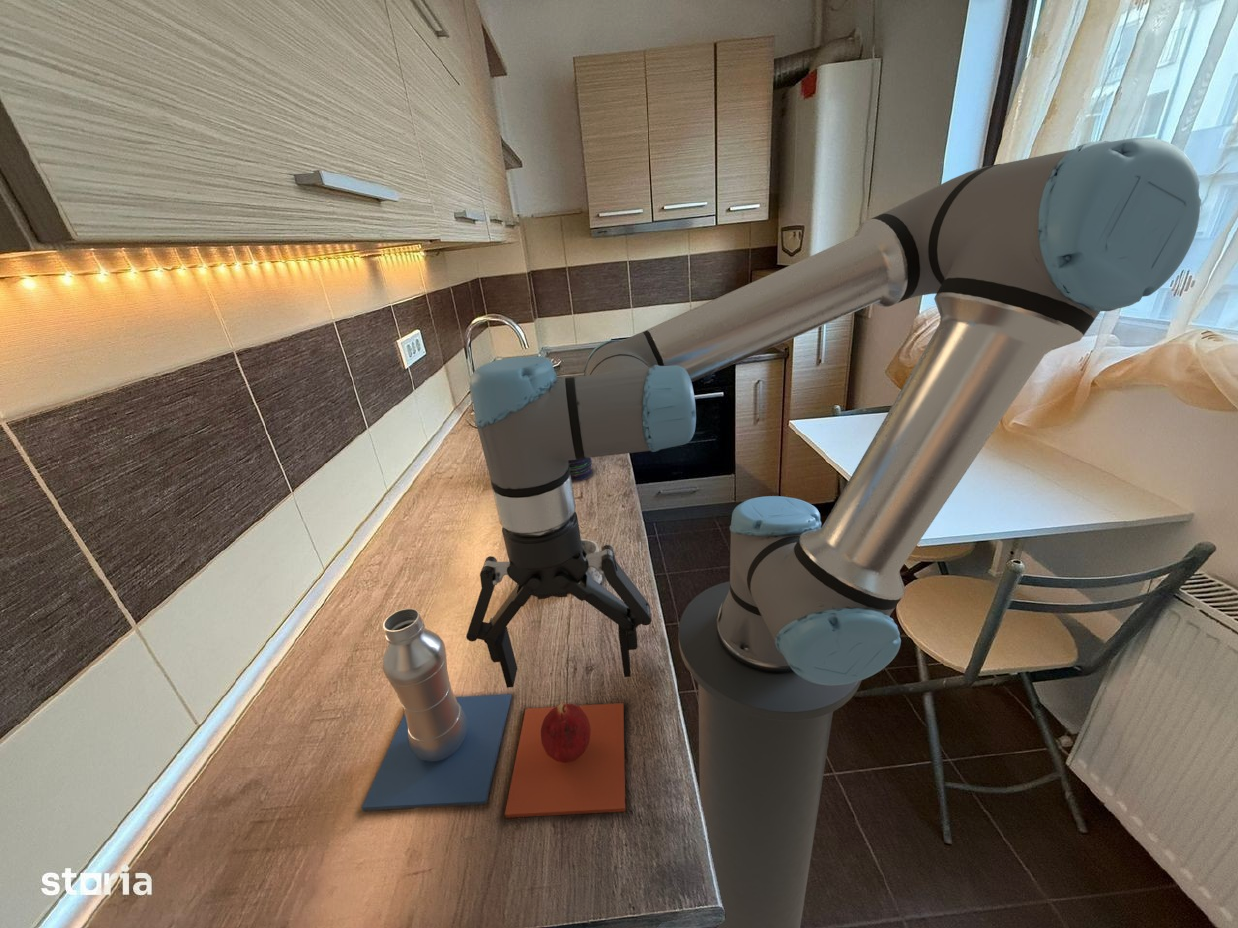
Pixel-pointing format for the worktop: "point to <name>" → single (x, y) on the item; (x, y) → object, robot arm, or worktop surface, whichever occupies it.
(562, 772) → the terracotta mat
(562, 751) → the onion
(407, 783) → the blue mat
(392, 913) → the worktop surface
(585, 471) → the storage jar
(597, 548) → the mug
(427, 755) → the metal bottle
